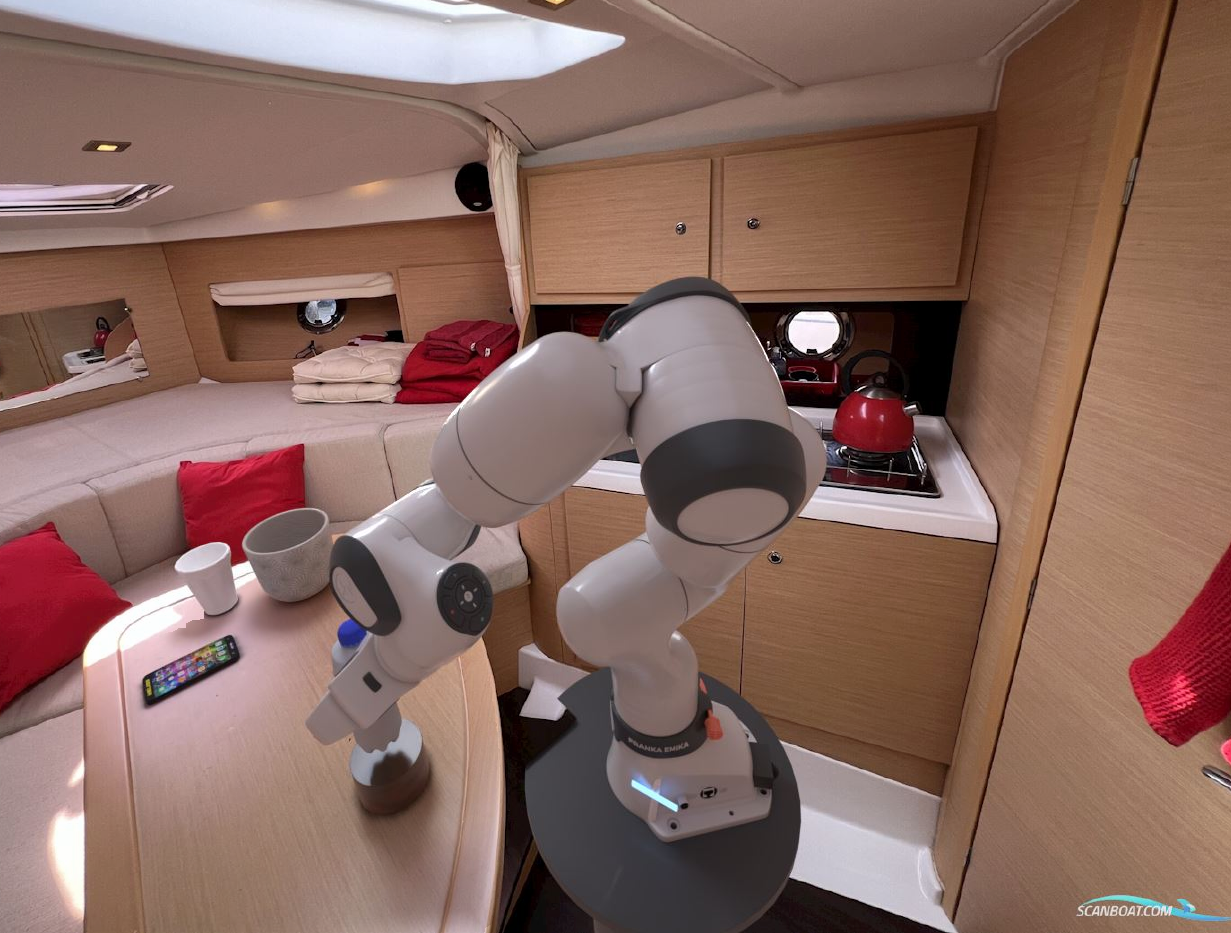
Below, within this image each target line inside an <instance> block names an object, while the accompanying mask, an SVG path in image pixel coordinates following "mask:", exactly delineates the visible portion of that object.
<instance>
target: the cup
mask: <svg viewBox="0 0 1231 933" xmlns="http://www.w3.org/2000/svg"><path fill="white" fill-rule="evenodd" d="M231 560H232V551H231V548H230V545H228V544H227V543H225V542H220V541H217V542H209V543H206V544H205V543H204V544H203V545H200V546H197V547H194V548H193V549H190V550H188V551H187V552H186V553H184V554H183V555H182V556H180V558H178V559H177V561H176V562H175V565H174V570H175V571H176V573H177V574H178V576H179V577H180V579H181V580H182V581H183V582H184V583H185V585H186V587H188V589H189V590H190V593H192V595H193V596H194V598H195V599H196V600H197V602H198V603H199V605H200V607H201V608H202V609H203V610H204V612H205V613H206V615H209V616H217V615H220V614H223V613H225V612H227V611H229V610H231V609H232V608H234V607H235V605H236V604H237V603H238V600H239V597H238V593H237V589H236V584H235V578H234V573H233V568H232V563H231Z"/></svg>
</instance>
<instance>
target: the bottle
mask: <svg viewBox="0 0 1231 933" xmlns="http://www.w3.org/2000/svg"><path fill="white" fill-rule="evenodd" d="M367 633H368V631H366V630H364V629H362V628H361V627H360V626H358V625H357V624H356V623H355V622H354V621H353V620H352V619H351V618H349V619H347V620H345V621H343V622H342V623H340V625H339V627H338V629H337V634H336V635H337V640H336V642H334V644H333V646H332V649H331V652H330V654H331V664H332V675H333V677H334V676H335V675H336V674H337V673H338V672H339V671H340V670H341V669H342V667H343V666H344V665H345V664H346V663H347V662H348V660H349V659H350V658H351V657H352V656H353V654H354V653H355V652H356V650H357V649H358V647H359V645H360V644H361V642H362V640H363V639H364V637H365V636H366V635H367ZM397 702H398V701H397ZM397 702H396V703H395V704H394V705H393V706H391V707H390V708H389V709H388V710H387V711H386V712H385V713H384V714H383V716H382V717H381V718H379V719H378V720H377V721H376V722H375V723H374V724H373V725H372V726H370V727H369V728H367V729H363V728H362V727H361V726H360V727H359V728H357V729H356V730H355V731H354V732H352V734H353V739H354V741H355V742H356V743H357V744H358V745H359V746H360V747H361V748H362V749H363V750H364V751H365V752H366V753H370V754H371V753H373V751H374V750H376V749H377V750H379V751H381V752H383V751H385V750H386V749H387V746H388V744H389V743H390V742H391V741H392V742H396V740H397V739H398V737H399V733H400V727H401V723H402V720H401V718H402V715H401V711H400V707H399V704H398V703H397ZM356 743H355V744H356Z"/></svg>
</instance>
